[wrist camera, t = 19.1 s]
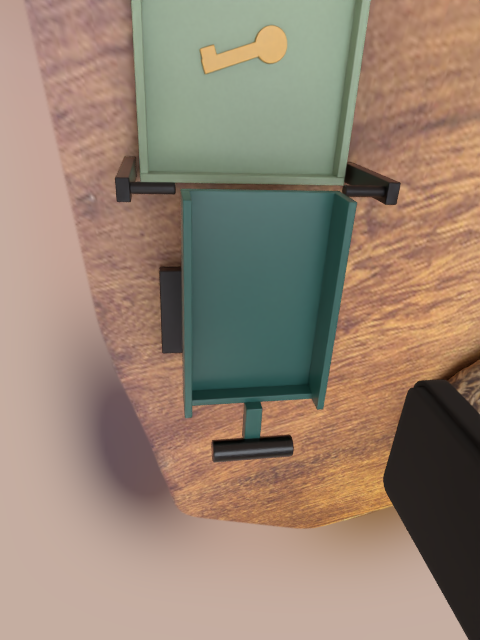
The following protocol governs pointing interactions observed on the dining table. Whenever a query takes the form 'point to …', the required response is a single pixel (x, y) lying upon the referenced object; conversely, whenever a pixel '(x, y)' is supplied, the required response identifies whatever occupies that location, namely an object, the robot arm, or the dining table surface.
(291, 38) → the tray
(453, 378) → the bird model
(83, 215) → the dining table surface
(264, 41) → the key
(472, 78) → the dining table surface
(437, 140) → the dining table surface
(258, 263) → the scoop
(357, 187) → the stand
